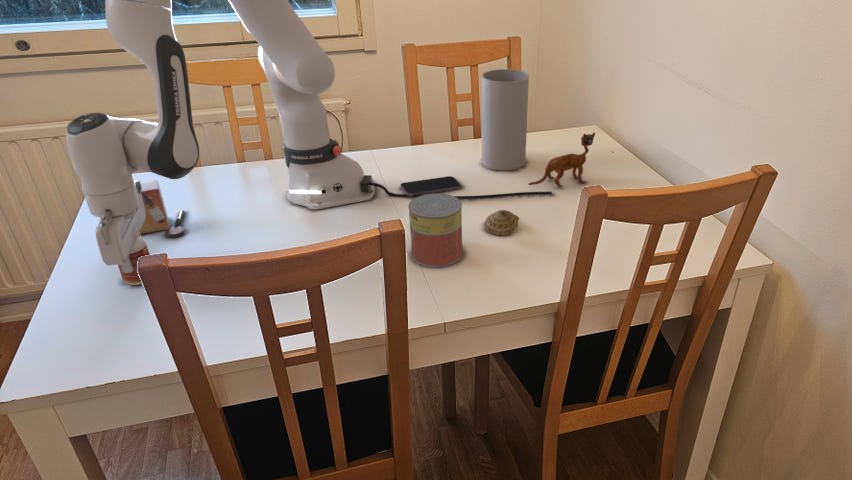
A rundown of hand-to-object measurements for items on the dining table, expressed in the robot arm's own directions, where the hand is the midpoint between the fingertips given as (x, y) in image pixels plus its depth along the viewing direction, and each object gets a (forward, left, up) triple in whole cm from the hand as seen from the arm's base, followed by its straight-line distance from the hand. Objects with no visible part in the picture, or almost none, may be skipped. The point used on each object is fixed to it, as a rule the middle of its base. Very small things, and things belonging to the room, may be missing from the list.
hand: (133, 260), depth 132 cm
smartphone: (-66, -30, -4) cm, 73 cm away
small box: (+2, -23, -4) cm, 24 cm away
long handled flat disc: (-4, -23, -4) cm, 24 cm away
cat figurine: (-100, -25, -4) cm, 103 cm away
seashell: (-79, -5, -4) cm, 79 cm away
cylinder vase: (-89, -42, -4) cm, 99 cm away
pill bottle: (0, 0, -4) cm, 4 cm away
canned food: (-62, +4, -4) cm, 62 cm away
